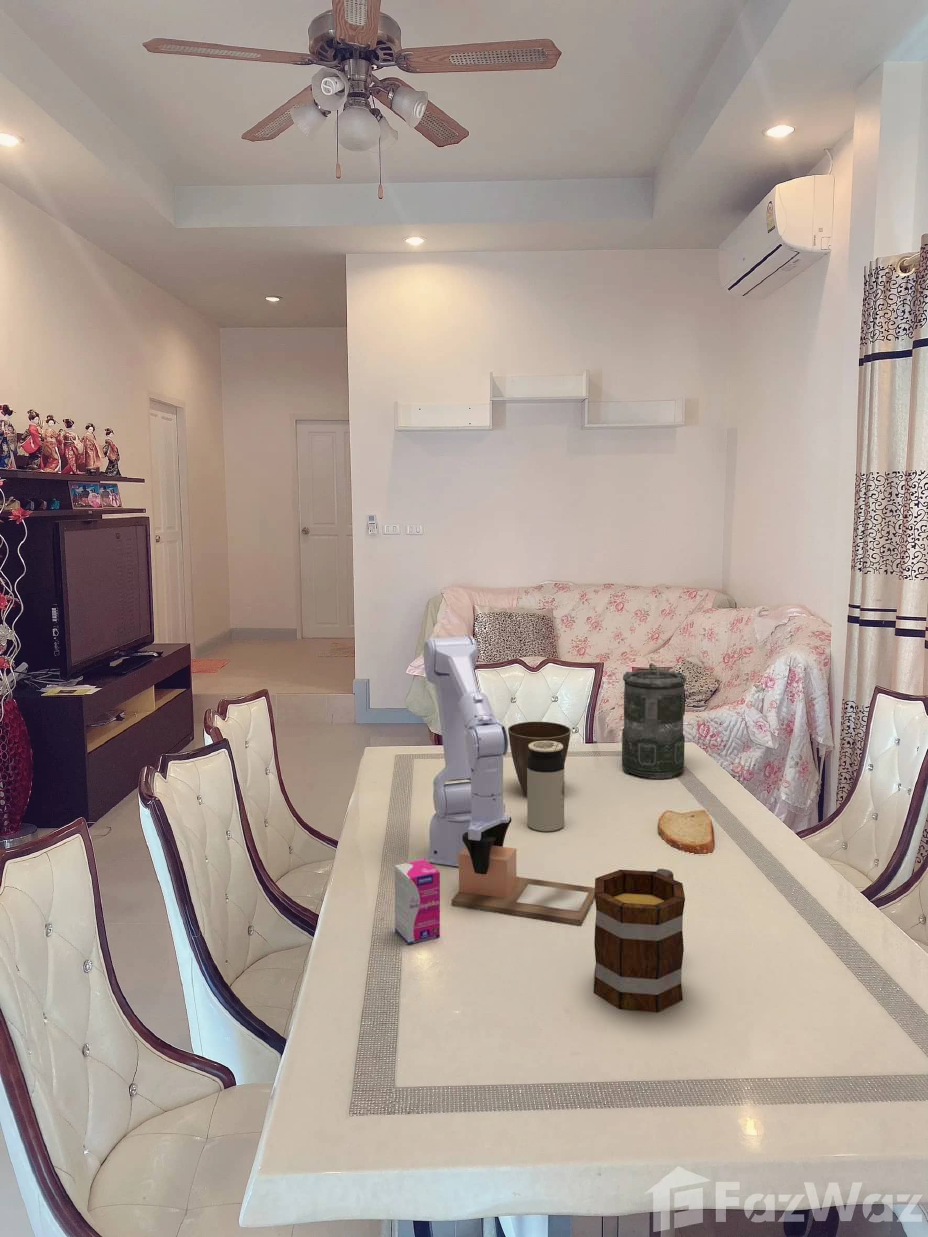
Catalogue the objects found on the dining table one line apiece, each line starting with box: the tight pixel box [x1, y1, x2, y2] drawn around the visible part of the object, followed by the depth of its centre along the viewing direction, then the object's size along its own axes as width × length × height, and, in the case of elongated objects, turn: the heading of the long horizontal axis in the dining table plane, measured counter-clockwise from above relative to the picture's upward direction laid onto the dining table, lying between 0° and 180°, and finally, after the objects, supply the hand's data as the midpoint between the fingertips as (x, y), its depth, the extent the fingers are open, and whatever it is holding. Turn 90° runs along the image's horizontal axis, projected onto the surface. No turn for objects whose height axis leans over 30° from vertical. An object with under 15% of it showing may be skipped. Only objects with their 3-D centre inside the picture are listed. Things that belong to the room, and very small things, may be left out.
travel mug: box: [526, 741, 565, 832], centre depth 192 cm, size 8×8×18 cm
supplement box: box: [394, 859, 441, 945], centre depth 144 cm, size 6×6×12 cm
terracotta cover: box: [458, 845, 517, 899], centre depth 159 cm, size 9×6×7 cm, turn 70°
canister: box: [621, 662, 687, 780], centre depth 229 cm, size 16×16×28 cm
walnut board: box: [451, 876, 595, 927], centre depth 157 cm, size 23×13×1 cm, turn 70°
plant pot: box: [507, 721, 572, 797], centre depth 213 cm, size 15×15×16 cm
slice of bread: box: [657, 809, 715, 855], centre depth 187 cm, size 18×18×4 cm
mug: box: [593, 868, 686, 1014], centre depth 130 cm, size 20×14×15 cm
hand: (487, 865), depth 159 cm, fingers open, 7 cm apart
